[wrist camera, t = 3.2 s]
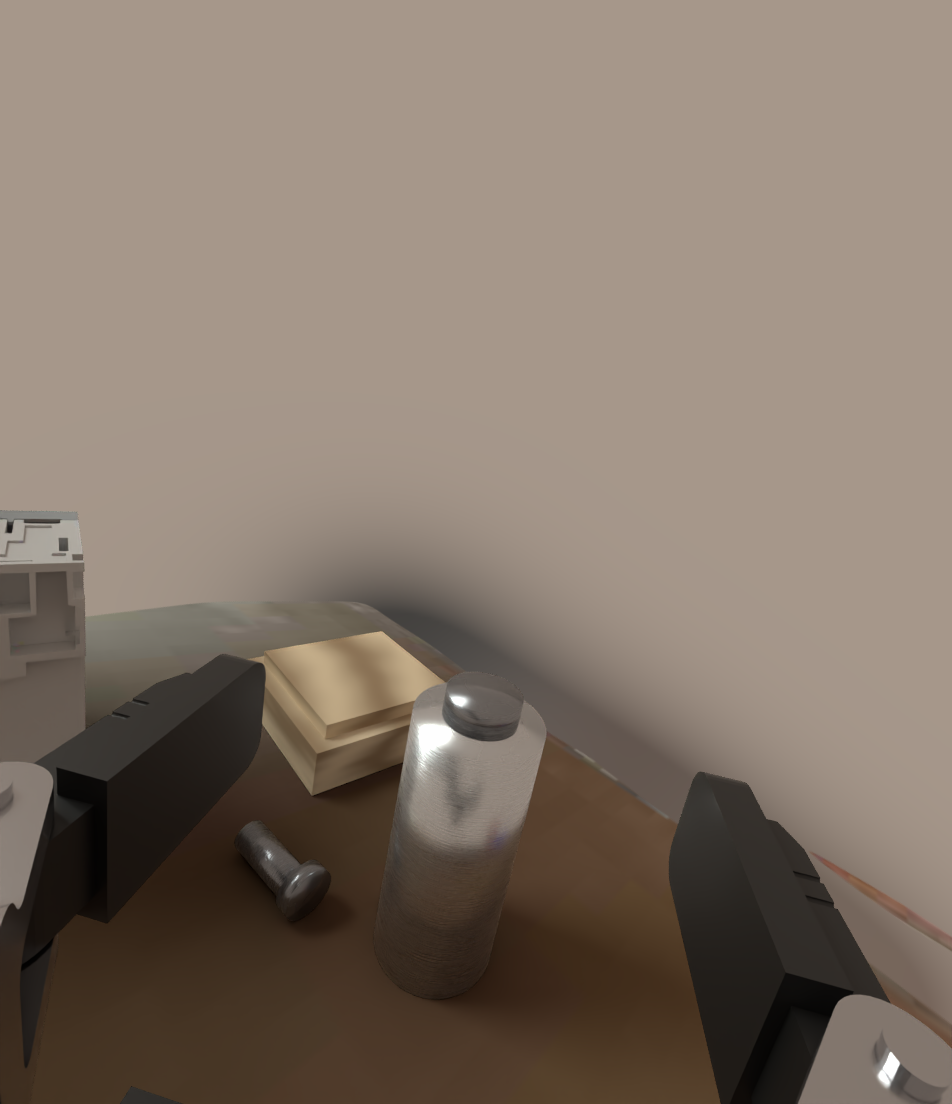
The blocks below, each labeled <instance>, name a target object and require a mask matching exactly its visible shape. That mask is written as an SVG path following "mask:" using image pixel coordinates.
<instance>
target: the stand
mask: <svg viewBox="0 0 952 1104" xmlns="http://www.w3.org/2000/svg"><path fill="white" fill-rule="evenodd" d="M248 660H252V661H256V662H260V663H262V664H263V665H264V666H265V670H266V681H265V693H264V705H263V717H262V724H263V726H264V727H265V729H266V730H267V732H268V733H269V735H270V736H271V738H272V739H273V740H274V742H275V743H276V745H277V746H278V748H279V749H280V751H281V752H282V753H283V755H284V756H285V758H286V759H287V761H288V762H289V764H290V765H291V766H292V768H293V769H294V771H295V772H296V774H297V775H298V777H299V778H300V780H301V781H302V782H303V784H304V785H305V787H306V788H307V790H308V791H309V793H310V794H311V795H312V796H313V795H315V794H318V793H321V792H324V791H326V790H329V789H332V788H334V787H337V786H340V785H343V784H345V783H348V782H351V781H353V780H356V779H359V778H362V777H364V776H367V775H370V774H372V773H375V772H378V771H381V770H383V769H386V768H389V767H391V766H394V765H397V764H400V763H402V762H404V756H405V750H406V745H407V739H408V733H409V727H410V722H411V716H412V710H413V705H414V702H415V700H416V699H417V697H418V696H419V695H420V694H421V693H422V692H423V691H425V690H426V689H428V688H430V687H432V686H435V685H438V684H442V683H445V682H444V681H443V680H441V679H440V678H439V677H438V676H436V675H435V674H434V673H433V672H431V671H430V670H429V669H428V668H426V667H425V666H424V665H423V664H421V663H420V662H419V661H418V660H417V659H415V658H414V657H413V656H412V655H410V654H409V653H408V652H407V651H405V650H404V649H403V648H402V647H400V646H399V645H398V644H397V643H395V642H394V641H393V640H392V639H390V638H389V637H388V636H387V635H386V634H384V633H383V632H382V631H380V632H375V633H369V634H363V635H357V636H351V637H345V638H339V639H333V640H327V641H322V642H316V643H310V644H304V645H298V646H292V647H286V648H280V649H274V650H269V651H265V652H264V656H262V657H256V658H251V659H248Z"/></svg>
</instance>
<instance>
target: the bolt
mask: <svg viewBox="0 0 952 1104" xmlns="http://www.w3.org/2000/svg"><path fill="white" fill-rule="evenodd" d="M235 847H236V849H237V850H238V851H239V852H240V853H241V854H242V856H243V857H244V858H245V859H246V860H247V862H248V863H249V864H250V865H251V866H252V868H253V869H254V870H255V871H256V872H257V874H258V875H259V876H260V877H261V878H262V880H263V881H264V882H265V883H266V884H267V886H268V887H269V888H270V889H271V890H272V892H273V893H274V894H275V895H276V896H277V899H276V903H277V906H278V907H279V909H280V910H281V911H282V912H283V914H284V915H285V916H286V917H287V918H288V919H289V920H290V921H296V920H299V919H301V918H303V917H305V916H306V915H308V914H309V913H310V912H311V911H312V910H313V909H314V908H315V907H316V906H317V905H318V904H319V903H320V902H321V900H322V899H323V897H324V896H325V894H326V892H327V890H328V888H329V885H330V882H331V875H330V873H329V872H328V871H327V870H326V869H325V868H324V867H323V866H322V865H321V863H320V862H319V861H317V860H309V861H307V862H304V863H303V864H300V863H299V861H298V860H297V859H296V858H295V857H294V856H293V855H292V854H291V853H290V852H289V851H288V850H287V848H286V847H285V846H284V845H283V844H282V843H281V842H280V841H279V840H278V839H277V838H276V836H275V835H274V834H273V833H272V832H271V831H270V830H269V829H268V828H267V827H266V826H265V825H264V823H263V822H262V821H260V820H256V821H252V822H250V823H248V824H247V825H246V826H244V827H243V828H242V829H241V831H240V832H239V833H238V835H237V837H236V839H235Z"/></svg>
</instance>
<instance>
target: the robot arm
mask: <svg viewBox="0 0 952 1104" xmlns="http://www.w3.org/2000/svg"><path fill="white" fill-rule="evenodd" d="M265 681H266V670H265V666H264V665H263V664H262V663H260V662H256V661H252V660H248V659H244V658H239V657H235V656H231V655H227V654H222V655H219V656H217V657H216V658H214V659H213V660H212V661H210V662H209V663H207V664H206V665H204V666H203V667H201V668H200V669H198V670H197V671H196V672H194V673H193V674H190V673H185V674H182V675H179V676H176V677H173V678H170V679H167V680H164V681H161V682H159V683H156V684H155V685H153V686H151V687H150V688H148V689H147V690H145V691H144V692H142V693H141V694H139V695H138V696H136V697H135V698H133V700H132V702H127V703H125V704H124V705H122V706H121V707H119V708H118V709H116V710H115V711H113V713H112V715H111V716H110V715H107V716H105V717H104V718H102V719H101V720H99V721H98V722H96V723H95V724H93V725H91V726H90V727H88V728H87V729H85V730H84V731H82V732H81V733H79V734H78V735H76V736H75V737H73V738H72V739H70V740H68V741H67V742H65V743H64V744H62V745H61V746H59V747H58V748H56V749H55V750H53V751H52V752H50V753H48V754H47V755H45V756H44V757H42V758H41V759H39V760H38V761H36V762H35V763H33V764H32V763H28V762H0V1104H31V1096H32V1089H33V1083H34V1077H35V1072H36V1066H37V1061H38V1055H39V1050H40V1044H41V1039H42V1033H43V1028H44V1022H45V1017H46V1012H47V1006H48V1001H49V995H50V990H51V984H52V979H53V973H54V968H55V962H56V957H57V951H58V932H59V931H60V930H61V929H62V928H63V927H64V926H65V925H66V924H67V923H68V922H69V921H70V920H71V919H72V918H73V917H74V916H75V915H76V914H78V915H81V916H84V917H88V918H91V919H94V920H97V921H101V922H104V923H108V922H109V921H110V920H111V919H112V918H113V917H114V916H115V915H116V913H117V912H118V911H119V910H120V909H121V908H122V907H123V906H124V905H125V903H126V902H127V901H128V900H129V899H130V898H131V897H132V896H133V895H134V893H135V892H136V891H137V890H138V889H139V888H140V887H141V886H142V885H143V884H144V882H145V881H146V880H147V879H148V878H149V877H150V876H151V875H152V874H153V872H154V871H155V870H156V869H157V868H158V867H159V866H160V865H161V864H162V862H163V861H164V860H165V859H166V858H167V857H168V856H169V855H170V854H171V852H172V851H173V850H174V849H175V848H176V847H177V846H178V845H179V844H180V843H181V841H182V840H183V839H184V838H185V837H186V836H187V835H188V834H189V833H190V831H191V830H192V829H193V828H194V827H195V826H196V825H197V824H198V823H199V821H200V820H201V819H202V818H203V817H204V816H205V815H206V814H207V813H208V811H209V810H210V809H211V808H212V807H213V806H214V805H215V804H216V803H217V802H218V800H219V799H220V798H221V797H222V796H223V795H224V794H225V793H226V792H227V790H228V789H229V788H230V787H231V786H232V785H233V784H234V783H235V782H236V780H237V779H238V778H239V777H240V776H241V775H242V774H243V773H244V772H245V770H246V769H247V768H248V767H249V765H250V763H251V762H252V760H253V758H254V756H255V754H256V751H257V749H258V746H259V742H260V738H261V729H262V717H263V705H264V693H265ZM669 880H670V886H671V890H672V895H673V899H674V903H675V908H676V912H677V916H678V921H679V925H680V929H681V934H682V938H683V942H684V947H685V951H686V955H687V960H688V964H689V968H690V972H691V977H692V981H693V985H694V990H695V994H696V998H697V1003H698V1007H699V1011H700V1016H701V1020H702V1024H703V1029H704V1033H705V1037H706V1042H707V1046H708V1050H709V1054H710V1059H711V1063H712V1067H713V1072H714V1076H715V1080H716V1085H717V1089H718V1093H719V1098H720V1102H721V1104H952V1049H951V1048H950V1047H949V1046H948V1045H947V1044H946V1043H945V1042H944V1041H943V1040H942V1039H941V1038H940V1037H939V1036H938V1035H936V1034H935V1033H934V1032H933V1031H932V1030H931V1029H929V1028H928V1027H927V1026H925V1025H924V1024H923V1023H922V1022H920V1021H919V1020H917V1019H916V1018H914V1017H913V1016H911V1015H910V1014H908V1013H907V1012H905V1011H903V1010H902V1009H900V1008H898V1007H896V1006H894V1005H892V1004H891V1003H890V1001H889V1000H888V998H887V996H886V994H885V992H884V991H883V989H882V987H881V985H880V984H879V982H878V980H877V978H876V976H875V975H874V973H873V971H872V969H871V968H870V966H869V964H868V962H867V960H866V959H865V957H864V955H863V953H862V952H861V950H860V948H859V946H858V945H857V943H856V941H855V939H854V937H853V936H852V934H851V932H850V930H849V928H848V927H847V925H846V923H845V921H844V920H843V918H842V916H841V914H840V912H839V911H838V909H835V908H834V902H833V900H832V898H831V897H830V895H829V893H828V891H827V889H826V887H825V886H824V884H822V883H820V877H819V875H818V873H817V872H816V870H815V868H814V866H813V864H812V863H811V861H810V859H809V857H808V855H807V854H806V852H805V850H804V849H803V848H802V847H801V846H800V845H799V844H798V843H797V841H796V840H795V839H794V838H793V837H792V836H791V835H790V834H789V833H788V832H787V831H786V830H785V829H784V828H783V827H782V826H781V825H780V824H779V823H778V822H776V821H772V820H768V819H766V818H765V816H764V814H763V812H762V810H761V808H760V806H759V804H758V802H757V800H756V798H755V796H754V794H753V792H752V790H751V789H750V787H749V785H748V784H747V783H745V782H742V781H738V780H733V779H729V778H725V777H721V776H717V775H713V774H709V773H705V772H698V773H697V774H696V776H695V777H694V779H693V781H692V784H691V787H690V790H689V793H688V796H687V799H686V802H685V805H684V808H683V811H682V814H681V817H680V820H679V823H678V826H677V829H676V832H675V836H674V839H673V842H672V845H671V850H670V857H669ZM120 1104H182V1103H179V1102H176V1101H173V1100H170V1099H167V1098H164V1097H161V1096H158V1095H155V1094H152V1093H149V1092H146V1091H143V1090H141V1089H138V1088H135V1087H132V1086H131V1087H130V1089H129V1091H128V1092H127V1094H126V1095H125V1097H124V1098H123V1100H122V1101H121V1103H120Z"/></svg>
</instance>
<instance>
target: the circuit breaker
mask: <svg viewBox="0 0 952 1104" xmlns="http://www.w3.org/2000/svg"><path fill="white" fill-rule="evenodd" d="M83 571H84V561H83V550H82V543H81V536H80V530H79V521H78V514H77V512H54V511H2V510H1V511H0V762H28V763H32V764H33V763H35V762H36V761H38V760H39V759H41V758H42V757H44V756H45V755H47V754H48V753H50V752H52V751H53V750H55V749H56V748H58V747H59V746H61V745H62V744H64V743H65V742H67V741H68V740H70V739H72V738H73V737H75V736H76V735H78V734H79V733H81V732H82V731H84V730H85V596H84V588H83Z"/></svg>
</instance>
